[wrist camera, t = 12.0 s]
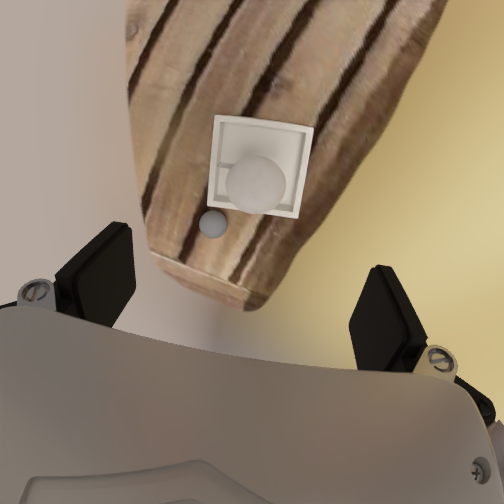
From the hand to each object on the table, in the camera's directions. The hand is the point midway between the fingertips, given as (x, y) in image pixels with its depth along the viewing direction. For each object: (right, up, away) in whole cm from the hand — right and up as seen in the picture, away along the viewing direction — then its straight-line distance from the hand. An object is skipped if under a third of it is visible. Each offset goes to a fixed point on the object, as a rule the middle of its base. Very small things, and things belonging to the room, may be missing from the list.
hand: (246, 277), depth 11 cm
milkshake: (+1, +10, +18) cm, 21 cm away
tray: (+1, +10, +18) cm, 21 cm away
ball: (-4, +5, +22) cm, 23 cm away
